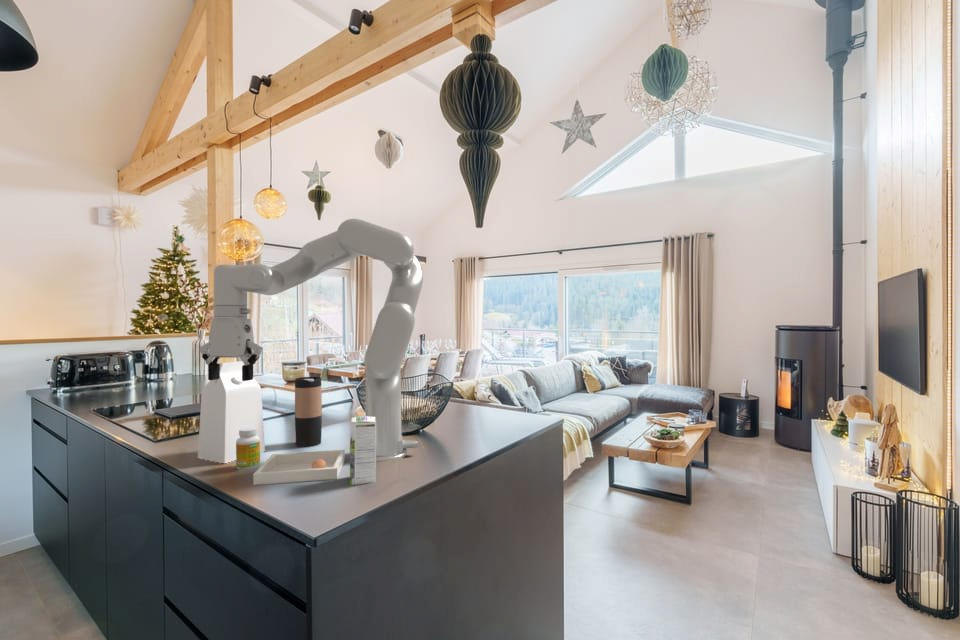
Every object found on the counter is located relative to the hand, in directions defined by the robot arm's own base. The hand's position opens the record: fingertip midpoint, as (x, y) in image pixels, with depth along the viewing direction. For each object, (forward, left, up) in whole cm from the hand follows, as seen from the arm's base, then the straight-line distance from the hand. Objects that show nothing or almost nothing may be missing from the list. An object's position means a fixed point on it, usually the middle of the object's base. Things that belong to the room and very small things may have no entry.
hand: (230, 379), depth 111 cm
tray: (-19, +9, -22) cm, 31 cm away
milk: (+4, -11, -23) cm, 26 cm away
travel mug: (-15, -18, -23) cm, 33 cm away
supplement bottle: (-4, +1, -23) cm, 23 cm away
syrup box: (-34, +18, -23) cm, 45 cm away
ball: (-23, +11, -22) cm, 34 cm away
